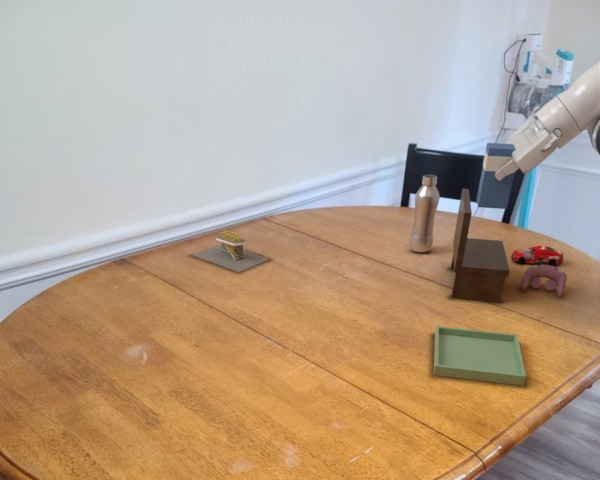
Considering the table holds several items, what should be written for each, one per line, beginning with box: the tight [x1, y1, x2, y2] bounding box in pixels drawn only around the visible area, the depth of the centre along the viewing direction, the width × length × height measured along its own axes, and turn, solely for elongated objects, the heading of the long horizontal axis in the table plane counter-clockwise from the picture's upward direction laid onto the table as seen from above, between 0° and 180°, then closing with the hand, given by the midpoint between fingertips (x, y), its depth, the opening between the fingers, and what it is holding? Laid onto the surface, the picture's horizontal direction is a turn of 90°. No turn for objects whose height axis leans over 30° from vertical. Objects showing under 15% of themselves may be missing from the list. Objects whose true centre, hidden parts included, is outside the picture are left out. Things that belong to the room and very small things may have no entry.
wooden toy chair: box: [450, 188, 511, 304], centre depth 134 cm, size 12×20×20 cm, turn 168°
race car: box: [510, 245, 564, 267], centre depth 151 cm, size 13×5×4 cm, turn 80°
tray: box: [433, 325, 527, 386], centre depth 110 cm, size 16×16×2 cm
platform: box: [192, 229, 270, 273], centre depth 151 cm, size 12×18×7 cm, turn 50°
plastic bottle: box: [408, 174, 441, 253], centre depth 152 cm, size 6×7×20 cm
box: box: [476, 142, 516, 210], centre depth 121 cm, size 6×6×12 cm
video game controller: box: [520, 264, 568, 297], centre depth 136 cm, size 10×5×7 cm, turn 65°
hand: (494, 173), depth 121 cm, fingers closed on box, 5 cm apart
